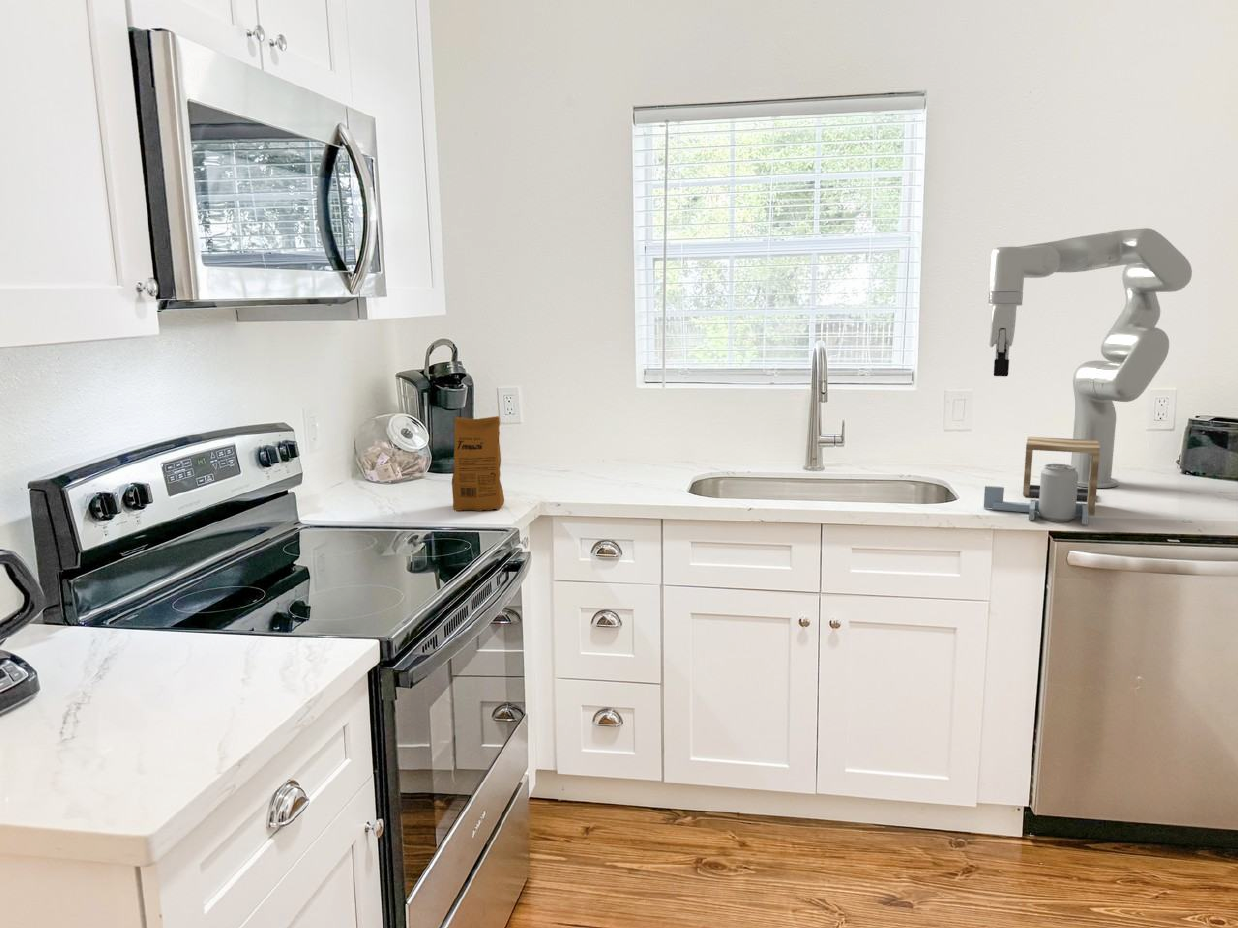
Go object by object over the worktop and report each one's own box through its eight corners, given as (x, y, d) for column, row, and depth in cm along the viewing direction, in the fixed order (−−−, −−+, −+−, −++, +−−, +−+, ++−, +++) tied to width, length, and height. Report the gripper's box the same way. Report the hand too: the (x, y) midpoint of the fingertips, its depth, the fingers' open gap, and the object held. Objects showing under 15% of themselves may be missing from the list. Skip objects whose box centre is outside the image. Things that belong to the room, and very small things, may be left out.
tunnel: (1023, 498, 226) (1028, 436, 223) (1092, 504, 220) (1097, 440, 217) (1022, 509, 215) (1026, 444, 212) (1094, 515, 209) (1099, 448, 206)
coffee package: (456, 502, 230) (452, 414, 226) (506, 502, 230) (503, 413, 226) (448, 512, 220) (444, 419, 216) (501, 511, 220) (498, 419, 216)
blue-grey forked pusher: (983, 506, 217) (985, 485, 216) (1086, 514, 208) (1088, 492, 207) (980, 515, 209) (982, 493, 208) (1087, 524, 200) (1089, 501, 199)
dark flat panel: (1025, 489, 236) (1025, 484, 235) (1091, 494, 229) (1092, 489, 229) (1023, 496, 228) (1024, 491, 228) (1092, 501, 222) (1093, 495, 222)
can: (1078, 523, 202) (1082, 469, 200) (1040, 521, 204) (1044, 467, 202) (1071, 515, 209) (1075, 462, 207) (1035, 513, 211) (1039, 461, 209)
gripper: (990, 299, 233) (986, 373, 236) (986, 300, 219) (982, 378, 223) (1023, 299, 230) (1018, 373, 233) (1021, 300, 216) (1016, 379, 220)
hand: (1000, 375), depth 228 cm, fingers closed
